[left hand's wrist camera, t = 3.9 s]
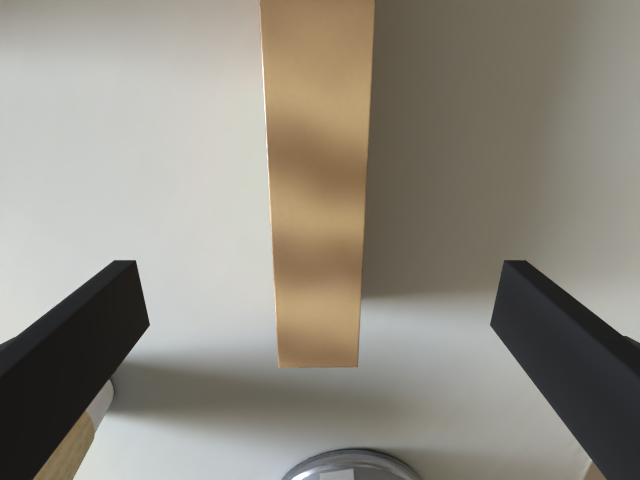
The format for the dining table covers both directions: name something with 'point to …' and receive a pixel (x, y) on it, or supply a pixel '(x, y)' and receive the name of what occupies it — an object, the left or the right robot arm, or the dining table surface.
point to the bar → (317, 171)
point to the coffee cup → (77, 439)
